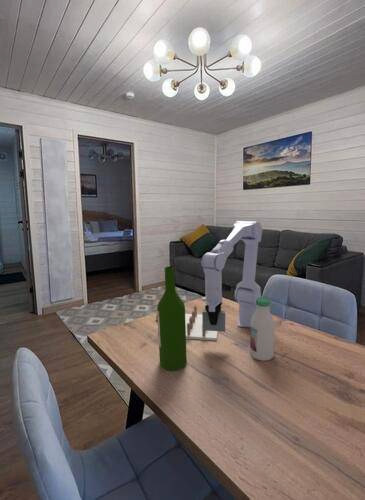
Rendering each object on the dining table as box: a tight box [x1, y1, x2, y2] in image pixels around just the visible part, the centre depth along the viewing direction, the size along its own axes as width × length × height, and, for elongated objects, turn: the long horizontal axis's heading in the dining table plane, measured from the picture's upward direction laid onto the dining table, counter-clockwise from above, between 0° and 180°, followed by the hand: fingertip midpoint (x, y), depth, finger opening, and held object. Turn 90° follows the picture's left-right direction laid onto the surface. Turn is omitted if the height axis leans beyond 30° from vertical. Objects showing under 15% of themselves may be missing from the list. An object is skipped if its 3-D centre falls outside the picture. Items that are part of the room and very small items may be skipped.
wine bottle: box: [156, 266, 188, 372], centre depth 87 cm, size 9×9×32 cm
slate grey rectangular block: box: [201, 308, 226, 333], centre depth 97 cm, size 8×2×7 cm, turn 79°
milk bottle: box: [249, 297, 275, 362], centre depth 91 cm, size 8×8×20 cm
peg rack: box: [185, 305, 219, 342], centre depth 114 cm, size 16×21×6 cm
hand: (214, 322), depth 97 cm, fingers closed on slate grey rectangular block, 2 cm apart
